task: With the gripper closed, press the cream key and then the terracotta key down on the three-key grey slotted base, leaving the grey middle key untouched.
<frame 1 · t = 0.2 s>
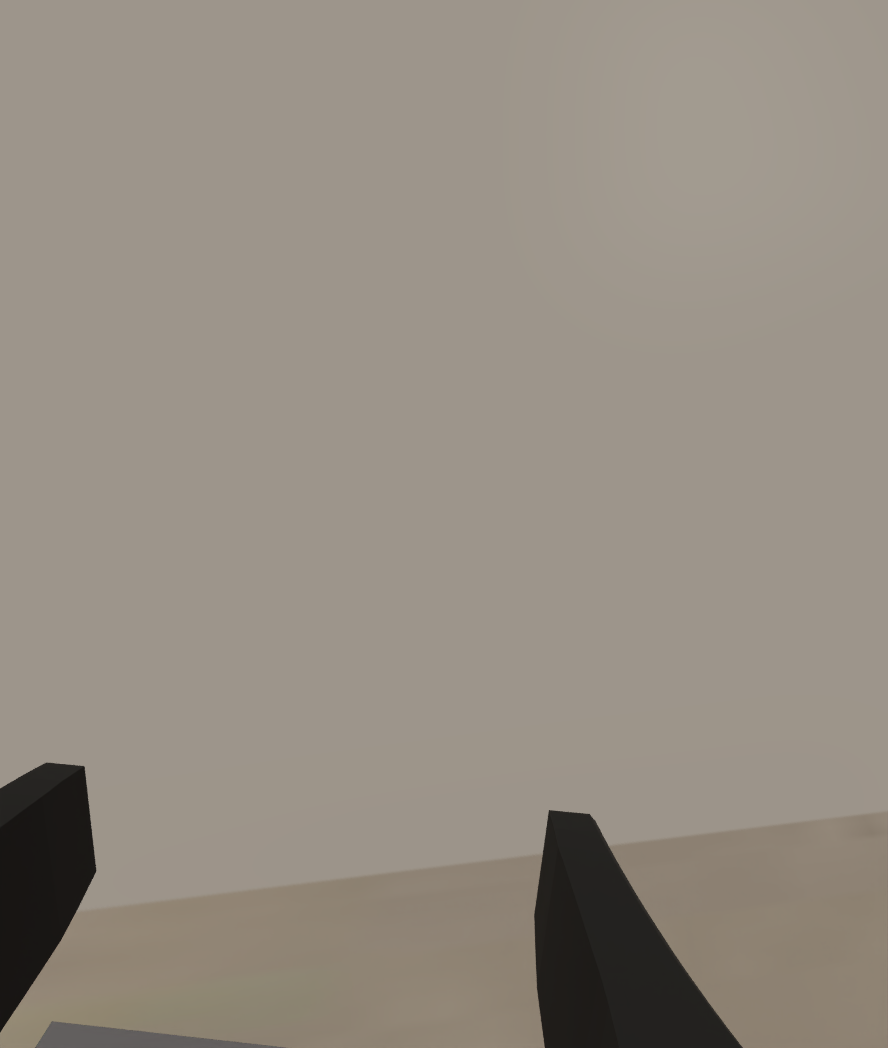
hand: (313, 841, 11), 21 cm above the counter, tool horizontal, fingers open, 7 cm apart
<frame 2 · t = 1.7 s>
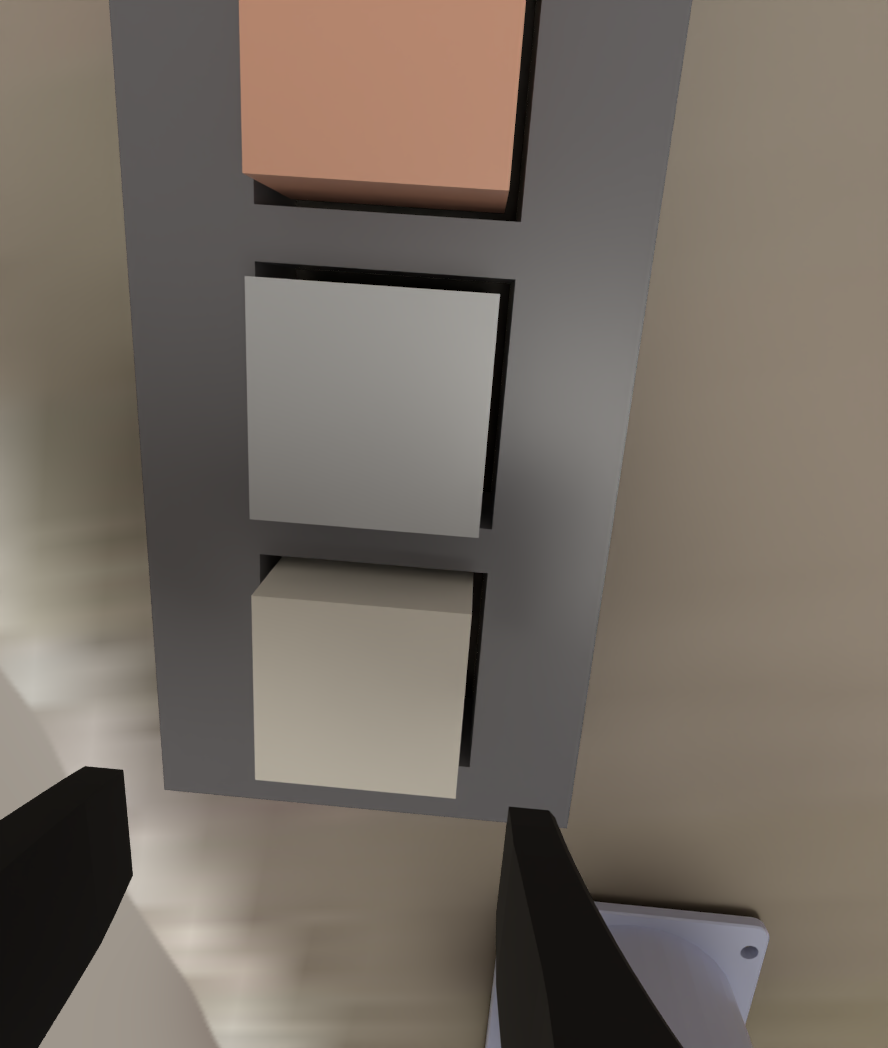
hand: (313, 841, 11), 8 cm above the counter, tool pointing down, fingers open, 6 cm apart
terracotta key: (392, 57, 12), point 3 cm above the counter, slide at 0.0 cm
grey slotted base: (397, 385, 17), on the counter
cream key: (369, 665, 16), point 3 cm above the counter, slide at 0.0 cm
grey key: (379, 402, 14), point 3 cm above the counter, slide at 0.0 cm
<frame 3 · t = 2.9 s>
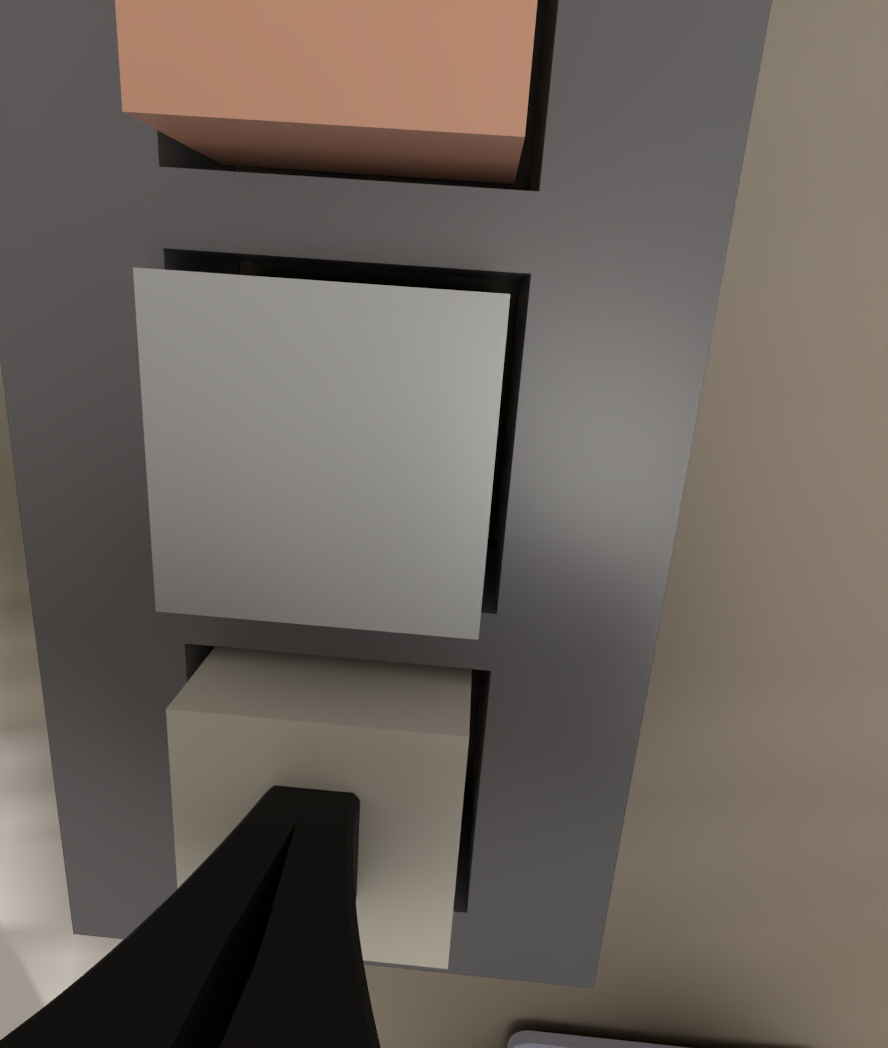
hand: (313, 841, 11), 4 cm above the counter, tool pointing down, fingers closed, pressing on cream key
grey slotted base: (373, 412, 13), on the counter
cream key: (335, 781, 12), point 3 cm above the counter, slide at 0.1 cm, touching gripper
grey key: (341, 443, 10), point 3 cm above the counter, slide at 0.0 cm
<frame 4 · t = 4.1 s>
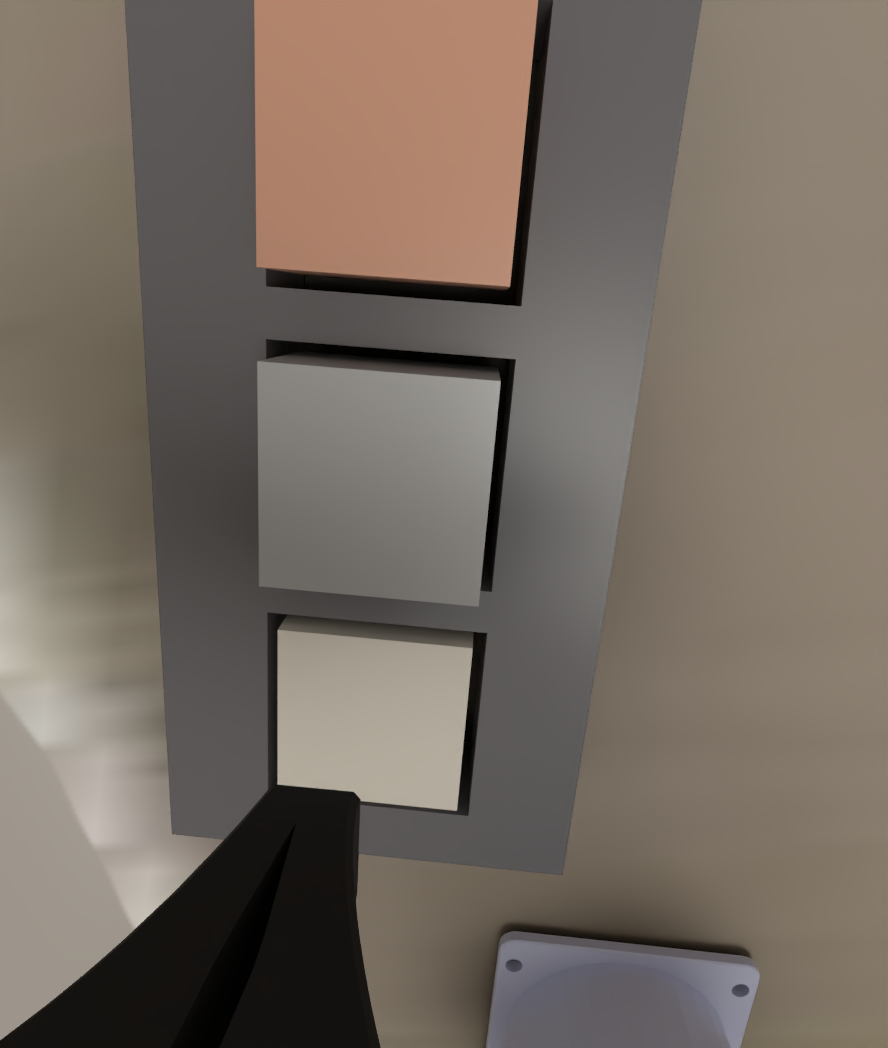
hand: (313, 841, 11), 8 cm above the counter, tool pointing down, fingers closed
terracotta key: (399, 152, 13), point 3 cm above the counter, slide at 0.0 cm
grey slotted base: (401, 444, 17), on the counter
cream key: (380, 689, 17), point 2 cm above the counter, slide at 1.3 cm
grey key: (384, 471, 14), point 3 cm above the counter, slide at 0.0 cm
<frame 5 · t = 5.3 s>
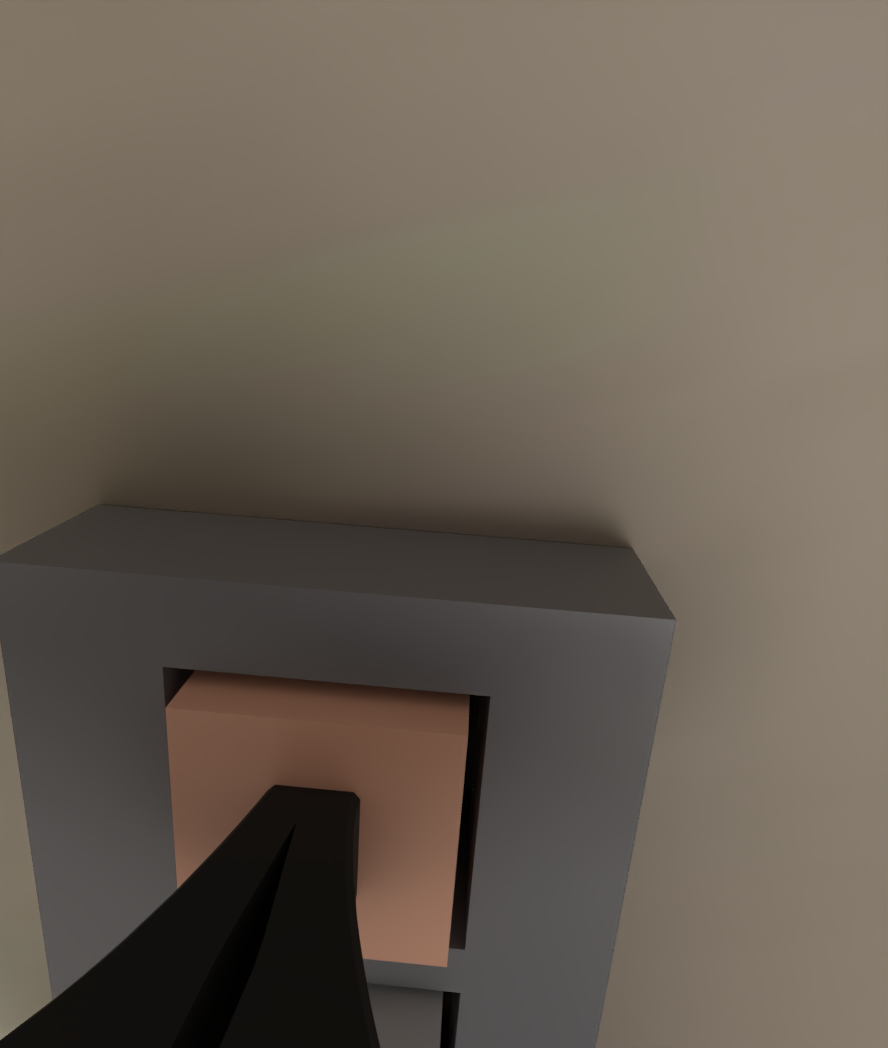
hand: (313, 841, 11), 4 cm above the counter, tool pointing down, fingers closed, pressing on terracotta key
terracotta key: (334, 780, 12), point 2 cm above the counter, slide at 0.9 cm, touching gripper
grey slotted base: (348, 937, 16), on the counter
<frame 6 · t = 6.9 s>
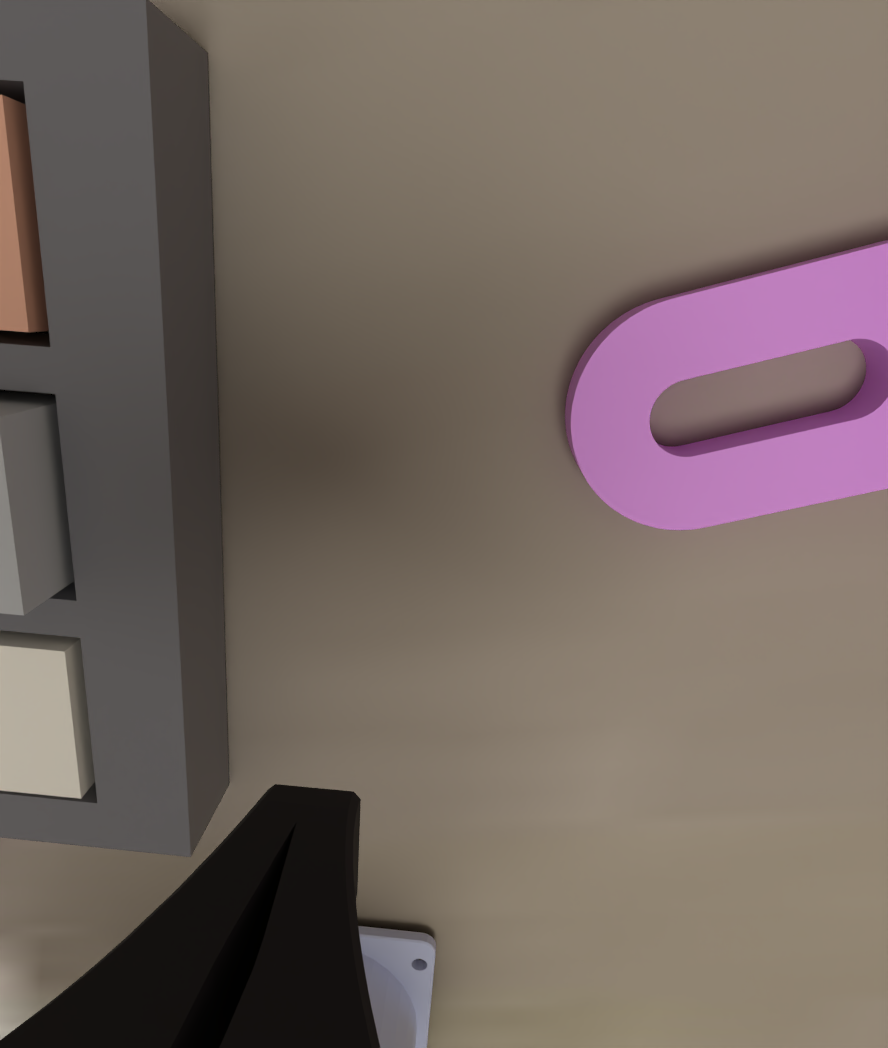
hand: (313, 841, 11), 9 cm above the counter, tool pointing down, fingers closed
bracket: (820, 373, 17), on the counter
grey slotted base: (40, 464, 19), on the counter
cream key: (26, 688, 19), point 2 cm above the counter, slide at 1.3 cm
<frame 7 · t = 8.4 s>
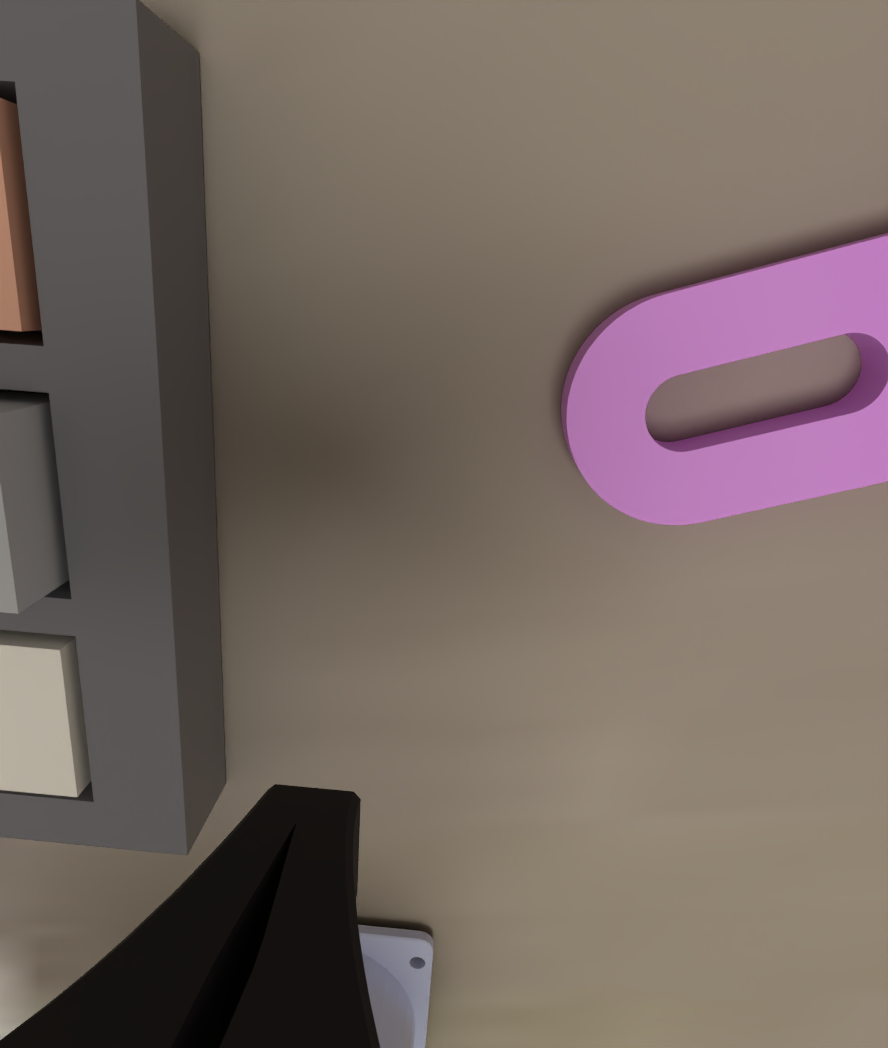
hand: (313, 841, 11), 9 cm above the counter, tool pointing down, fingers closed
bracket: (816, 368, 17), on the counter
grey slotted base: (35, 463, 19), on the counter
cream key: (22, 687, 19), point 2 cm above the counter, slide at 1.3 cm
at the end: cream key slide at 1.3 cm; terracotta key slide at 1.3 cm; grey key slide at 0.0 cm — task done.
